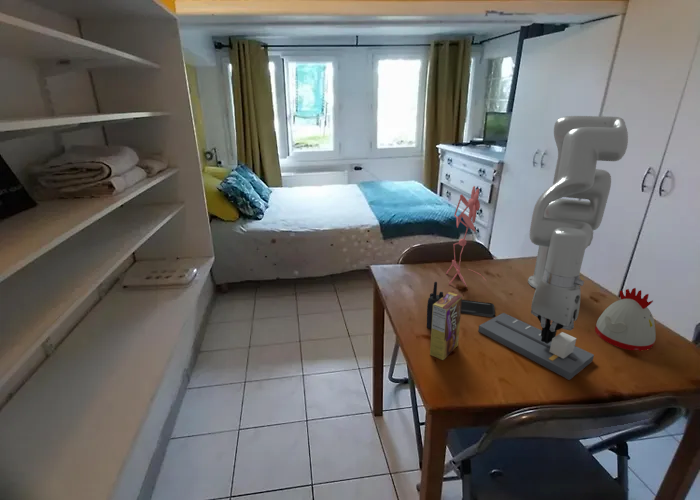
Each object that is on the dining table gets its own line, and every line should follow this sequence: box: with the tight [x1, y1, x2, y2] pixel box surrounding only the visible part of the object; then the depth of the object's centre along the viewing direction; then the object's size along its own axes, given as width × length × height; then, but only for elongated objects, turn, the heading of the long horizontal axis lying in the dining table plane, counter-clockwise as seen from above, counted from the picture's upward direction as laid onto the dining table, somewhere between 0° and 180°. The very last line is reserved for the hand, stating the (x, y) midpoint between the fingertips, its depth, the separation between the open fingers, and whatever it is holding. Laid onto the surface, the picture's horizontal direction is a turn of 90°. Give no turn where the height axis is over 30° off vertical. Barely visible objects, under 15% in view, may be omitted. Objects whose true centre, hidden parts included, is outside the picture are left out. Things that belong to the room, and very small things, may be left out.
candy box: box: [429, 291, 463, 361], centre depth 102 cm, size 9×4×15 cm, turn 140°
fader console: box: [477, 312, 595, 381], centre depth 106 cm, size 12×26×2 cm, turn 36°
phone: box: [461, 299, 496, 318], centre depth 125 cm, size 8×1×15 cm
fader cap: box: [549, 331, 577, 359], centre depth 99 cm, size 5×4×4 cm
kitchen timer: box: [594, 287, 657, 352], centre depth 108 cm, size 14×14×15 cm
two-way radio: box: [426, 281, 444, 330], centre depth 113 cm, size 6×4×15 cm
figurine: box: [445, 185, 488, 293], centre depth 138 cm, size 15×26×35 cm, turn 174°
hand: (546, 340), depth 102 cm, fingers closed
